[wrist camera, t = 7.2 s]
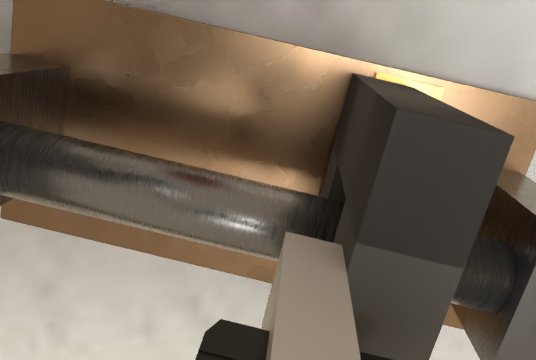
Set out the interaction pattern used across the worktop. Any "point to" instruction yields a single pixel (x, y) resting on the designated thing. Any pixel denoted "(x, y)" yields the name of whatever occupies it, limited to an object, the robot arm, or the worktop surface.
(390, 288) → the collar
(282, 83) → the pipe rig
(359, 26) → the worktop surface
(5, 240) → the worktop surface
